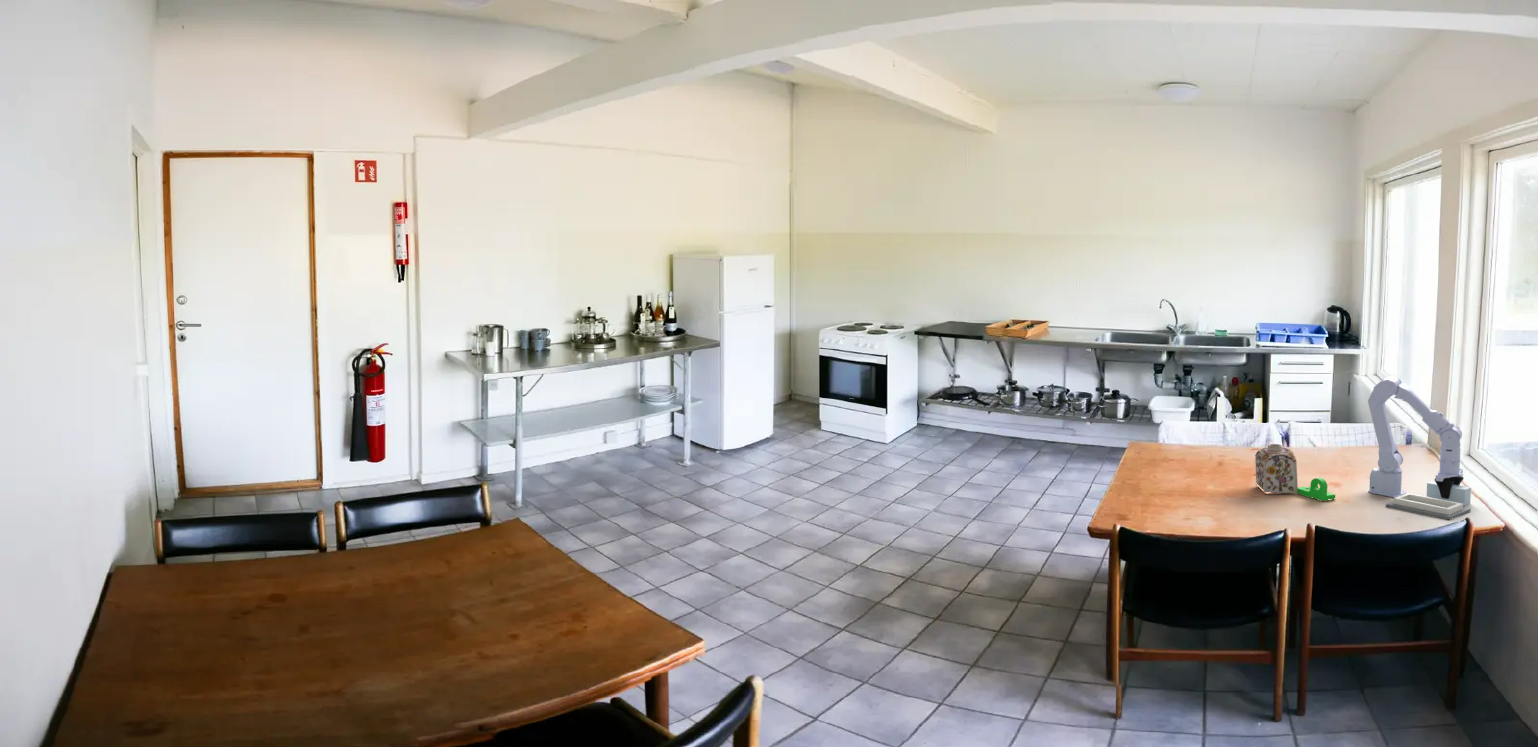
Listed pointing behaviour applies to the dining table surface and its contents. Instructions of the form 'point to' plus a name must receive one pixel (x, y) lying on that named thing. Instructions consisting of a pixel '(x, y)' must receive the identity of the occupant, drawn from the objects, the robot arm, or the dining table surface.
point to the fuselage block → (1456, 493)
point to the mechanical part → (1316, 490)
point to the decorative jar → (1276, 469)
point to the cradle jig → (1428, 506)
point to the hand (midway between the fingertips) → (1448, 496)
